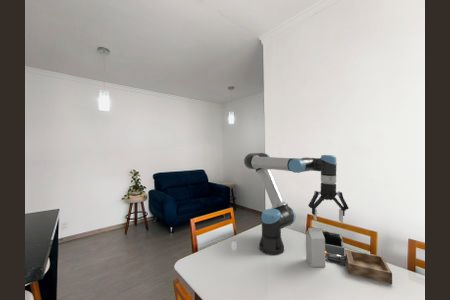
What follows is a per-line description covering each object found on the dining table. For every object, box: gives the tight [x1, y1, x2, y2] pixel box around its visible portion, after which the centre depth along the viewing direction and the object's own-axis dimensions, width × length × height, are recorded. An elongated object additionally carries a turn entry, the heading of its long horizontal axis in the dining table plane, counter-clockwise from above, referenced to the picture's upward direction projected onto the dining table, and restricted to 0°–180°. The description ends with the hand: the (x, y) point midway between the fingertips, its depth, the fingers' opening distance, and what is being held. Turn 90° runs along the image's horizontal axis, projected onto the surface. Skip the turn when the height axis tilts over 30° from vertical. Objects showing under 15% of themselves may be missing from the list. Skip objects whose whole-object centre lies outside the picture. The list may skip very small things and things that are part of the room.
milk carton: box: [305, 227, 326, 268], centre depth 102 cm, size 7×7×19 cm
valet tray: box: [322, 230, 345, 256], centre depth 120 cm, size 16×20×5 cm
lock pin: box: [325, 251, 346, 262], centre depth 103 cm, size 10×4×4 cm, turn 63°
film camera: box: [323, 231, 343, 247], centre depth 120 cm, size 15×10×9 cm, turn 70°
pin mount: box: [327, 253, 346, 266], centre depth 103 cm, size 8×6×4 cm
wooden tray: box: [344, 248, 393, 285], centre depth 95 cm, size 16×15×5 cm
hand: (327, 221), depth 104 cm, fingers open, 13 cm apart
